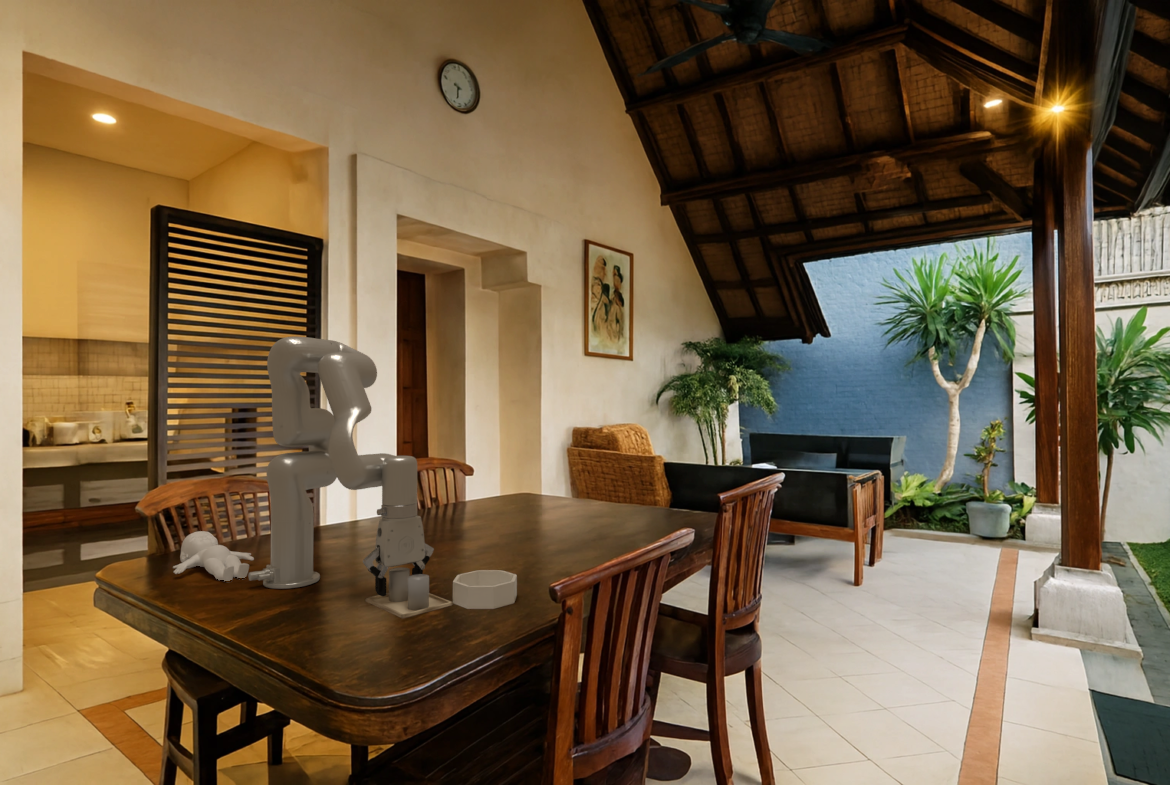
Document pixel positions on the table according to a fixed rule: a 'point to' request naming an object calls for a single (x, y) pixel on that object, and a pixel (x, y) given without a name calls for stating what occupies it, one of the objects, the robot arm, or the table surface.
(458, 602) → the bowl
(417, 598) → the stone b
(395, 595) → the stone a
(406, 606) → the tray
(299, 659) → the table surface
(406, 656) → the table surface
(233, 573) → the doll
